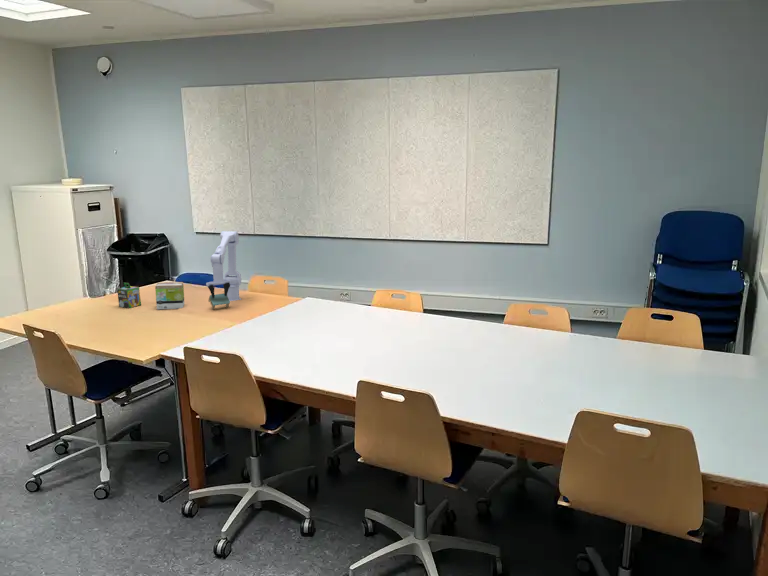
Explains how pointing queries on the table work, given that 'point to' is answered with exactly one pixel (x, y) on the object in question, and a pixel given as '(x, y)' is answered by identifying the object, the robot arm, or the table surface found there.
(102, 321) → the table surface
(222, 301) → the footstool
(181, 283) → the tea box
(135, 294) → the chalk box
